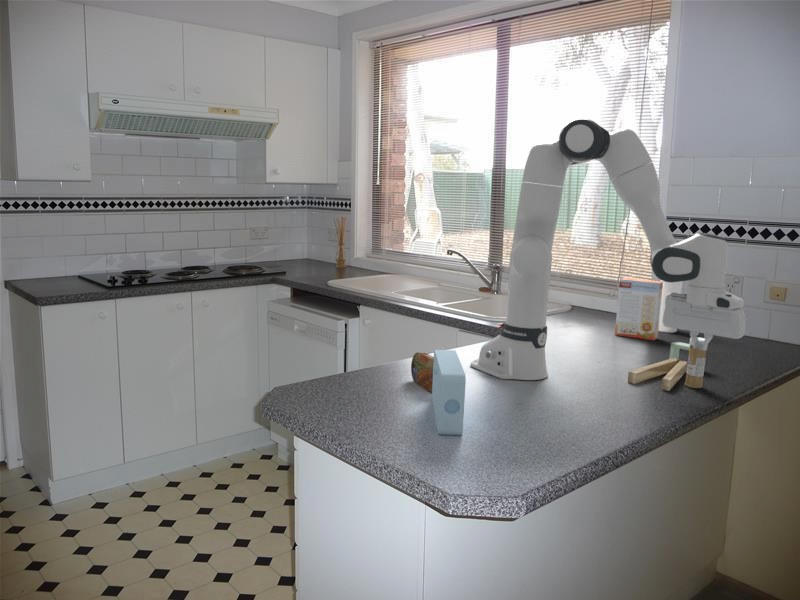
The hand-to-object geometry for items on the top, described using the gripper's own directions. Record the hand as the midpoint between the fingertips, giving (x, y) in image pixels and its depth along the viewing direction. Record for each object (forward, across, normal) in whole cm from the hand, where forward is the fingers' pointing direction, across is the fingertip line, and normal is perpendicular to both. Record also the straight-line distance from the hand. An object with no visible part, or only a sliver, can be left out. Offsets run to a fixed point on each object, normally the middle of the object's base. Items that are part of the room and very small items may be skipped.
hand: (699, 349), depth 179 cm
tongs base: (+12, -16, +9) cm, 22 cm away
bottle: (+13, -44, +74) cm, 87 cm away
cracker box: (+12, -46, +53) cm, 71 cm away
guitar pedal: (+12, -27, -66) cm, 73 cm away
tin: (+11, -47, -53) cm, 72 cm away
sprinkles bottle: (+12, -4, +8) cm, 15 cm away
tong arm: (+12, -10, +9) cm, 18 cm away
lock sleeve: (+12, -14, +25) cm, 32 cm away
